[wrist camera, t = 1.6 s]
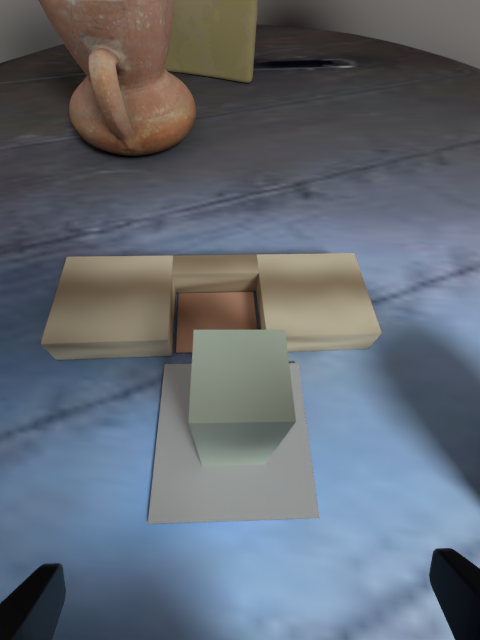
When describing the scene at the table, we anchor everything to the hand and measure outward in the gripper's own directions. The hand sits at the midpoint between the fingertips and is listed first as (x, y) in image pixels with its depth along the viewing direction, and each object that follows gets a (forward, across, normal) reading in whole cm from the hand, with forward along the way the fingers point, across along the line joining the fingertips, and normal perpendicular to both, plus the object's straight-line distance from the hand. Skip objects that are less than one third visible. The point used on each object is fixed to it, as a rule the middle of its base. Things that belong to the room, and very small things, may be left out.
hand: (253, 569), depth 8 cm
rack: (+20, +1, -2) cm, 20 cm away
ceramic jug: (+39, +11, -21) cm, 46 cm away
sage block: (+13, 0, +4) cm, 14 cm away
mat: (+13, 0, +5) cm, 14 cm away
